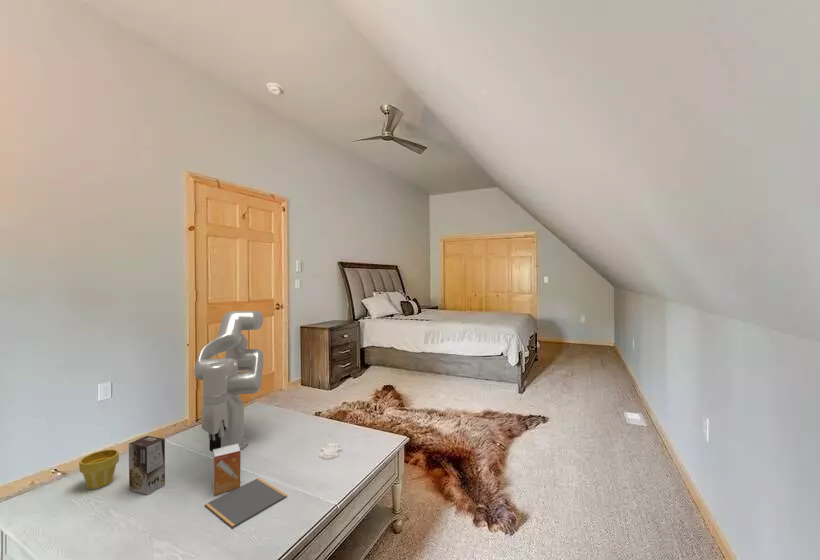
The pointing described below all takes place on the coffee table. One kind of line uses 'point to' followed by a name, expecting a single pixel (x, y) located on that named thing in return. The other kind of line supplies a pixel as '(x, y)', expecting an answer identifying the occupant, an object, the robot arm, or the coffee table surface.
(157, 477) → the coffee box
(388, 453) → the coffee table surface
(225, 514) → the mat
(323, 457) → the astronaut figurine
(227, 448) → the small box
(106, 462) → the plant pot
